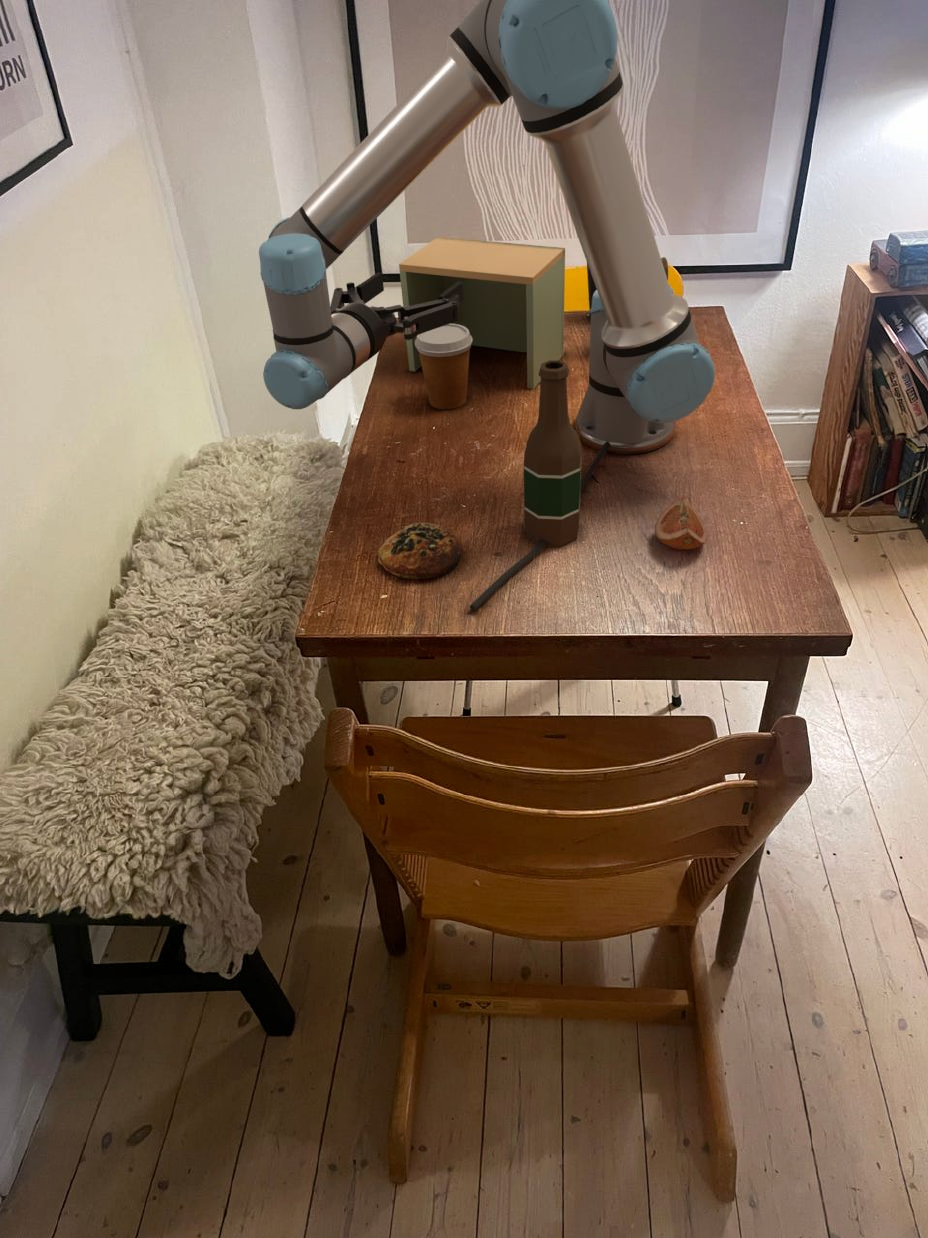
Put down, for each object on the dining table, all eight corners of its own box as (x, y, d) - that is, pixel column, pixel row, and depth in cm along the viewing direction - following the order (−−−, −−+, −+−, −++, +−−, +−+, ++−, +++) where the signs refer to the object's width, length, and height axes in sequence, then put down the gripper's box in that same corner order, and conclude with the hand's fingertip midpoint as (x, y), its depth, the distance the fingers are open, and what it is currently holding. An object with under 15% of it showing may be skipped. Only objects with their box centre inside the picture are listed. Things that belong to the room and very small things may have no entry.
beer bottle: (564, 554, 119) (568, 383, 104) (513, 539, 123) (509, 371, 108) (590, 525, 124) (597, 357, 109) (540, 511, 128) (540, 346, 113)
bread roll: (455, 584, 115) (447, 550, 112) (372, 588, 118) (363, 556, 115) (470, 537, 124) (463, 505, 121) (393, 542, 127) (384, 511, 124)
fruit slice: (708, 564, 116) (713, 531, 113) (654, 562, 117) (657, 530, 114) (703, 527, 123) (707, 496, 119) (652, 526, 123) (655, 495, 120)
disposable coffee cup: (475, 412, 152) (471, 343, 145) (418, 415, 153) (412, 346, 145) (475, 387, 160) (472, 320, 152) (421, 390, 160) (415, 323, 153)
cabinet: (533, 389, 158) (532, 277, 146) (409, 370, 167) (398, 263, 155) (563, 354, 168) (565, 247, 156) (445, 339, 177) (438, 236, 165)
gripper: (276, 353, 130) (352, 301, 144) (432, 377, 121) (496, 319, 136) (266, 301, 125) (346, 252, 140) (428, 322, 116) (495, 268, 131)
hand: (420, 285), depth 138 cm, fingers open, 13 cm apart
